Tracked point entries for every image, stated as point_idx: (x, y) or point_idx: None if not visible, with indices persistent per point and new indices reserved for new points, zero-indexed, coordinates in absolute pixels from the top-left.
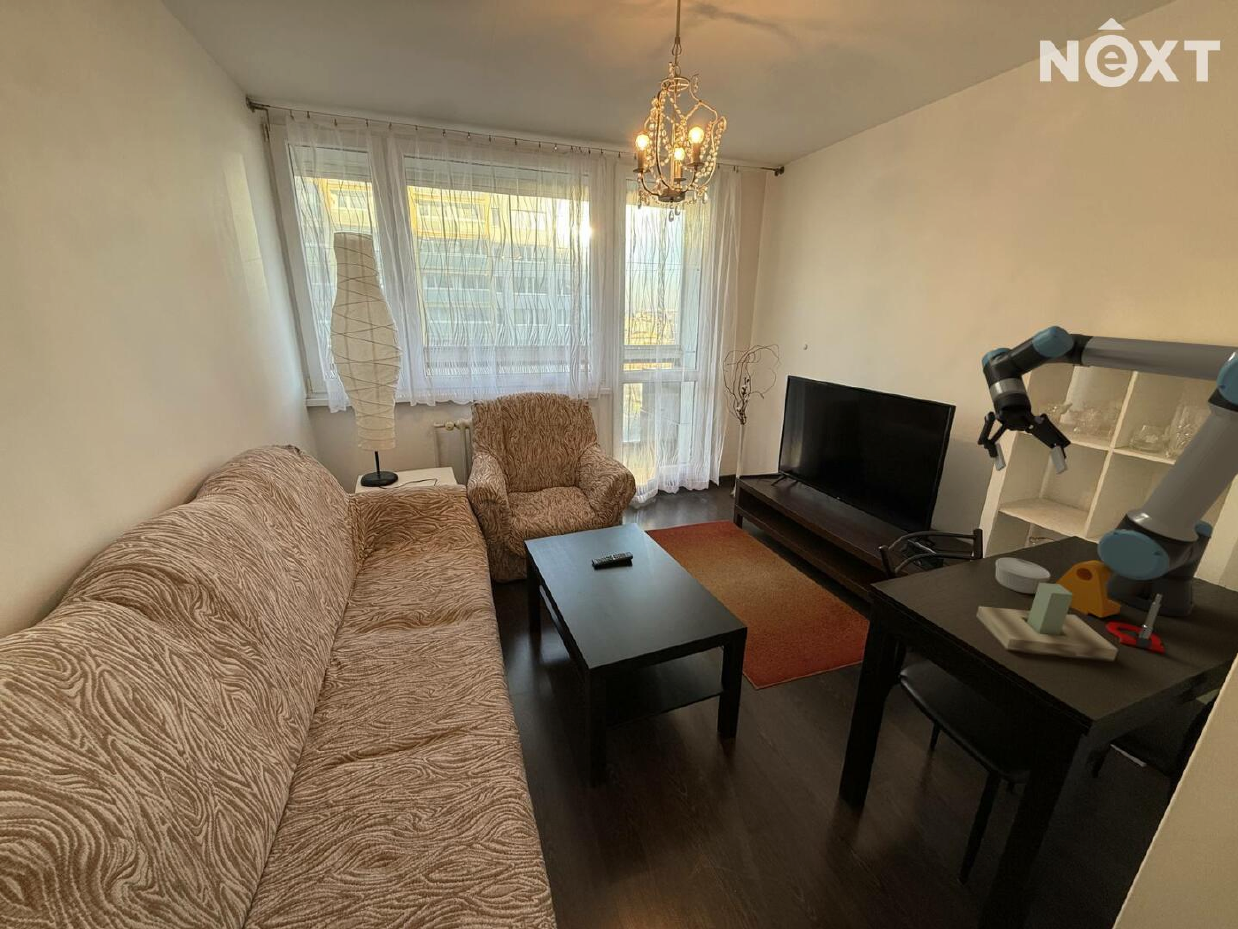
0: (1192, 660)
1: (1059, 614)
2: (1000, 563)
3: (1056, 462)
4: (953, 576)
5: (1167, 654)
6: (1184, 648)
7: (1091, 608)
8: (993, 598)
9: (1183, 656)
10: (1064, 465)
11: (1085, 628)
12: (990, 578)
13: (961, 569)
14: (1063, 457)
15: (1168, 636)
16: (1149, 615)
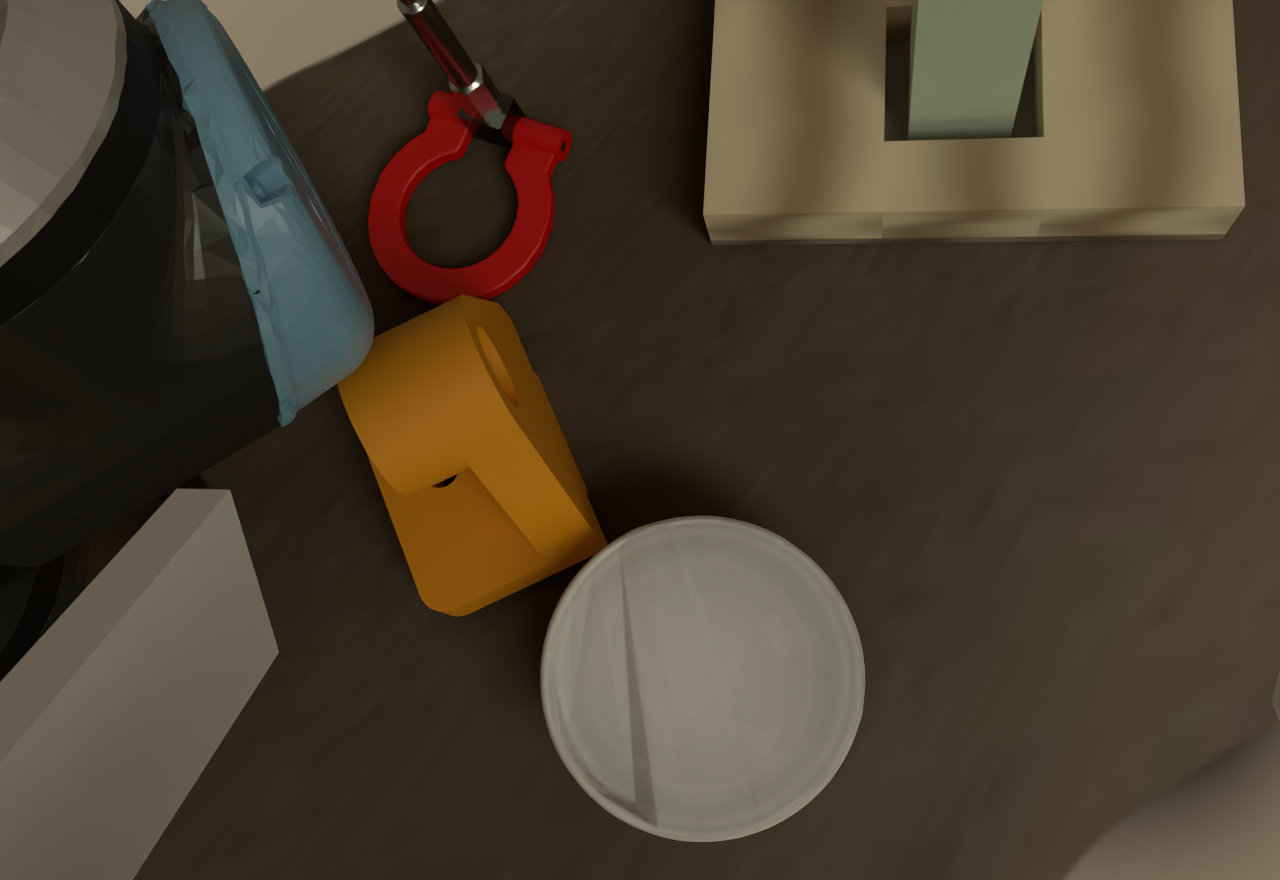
0: (360, 79)
1: None
2: (833, 718)
3: (160, 736)
4: (1129, 749)
5: None
6: (309, 161)
7: (521, 353)
8: (989, 474)
9: (371, 100)
10: (174, 533)
11: (741, 97)
12: (858, 750)
13: (1010, 874)
14: (33, 656)
15: None
16: (455, 38)
